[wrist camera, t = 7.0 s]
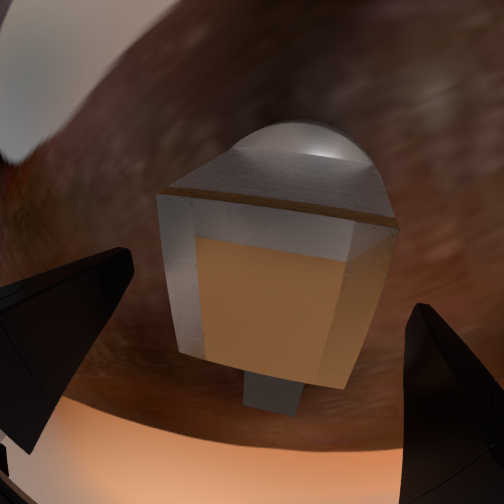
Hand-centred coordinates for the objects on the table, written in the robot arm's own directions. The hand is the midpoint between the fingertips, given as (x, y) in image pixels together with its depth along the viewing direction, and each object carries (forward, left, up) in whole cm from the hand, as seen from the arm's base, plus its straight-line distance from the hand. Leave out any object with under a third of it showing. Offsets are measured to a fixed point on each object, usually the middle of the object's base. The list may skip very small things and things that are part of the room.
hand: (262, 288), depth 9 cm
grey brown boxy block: (0, 0, -5) cm, 5 cm away
